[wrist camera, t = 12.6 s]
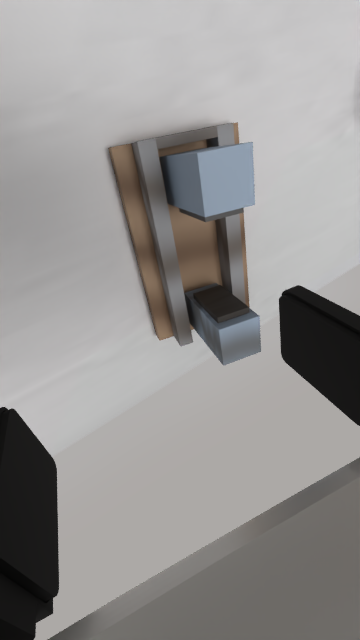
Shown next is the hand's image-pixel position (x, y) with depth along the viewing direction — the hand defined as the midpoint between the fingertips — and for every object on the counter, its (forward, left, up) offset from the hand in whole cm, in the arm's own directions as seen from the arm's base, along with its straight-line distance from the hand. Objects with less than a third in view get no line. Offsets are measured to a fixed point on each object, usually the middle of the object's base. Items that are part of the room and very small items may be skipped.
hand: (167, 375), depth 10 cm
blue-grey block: (-4, +9, -21) cm, 24 cm away
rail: (+3, +9, -23) cm, 25 cm away
